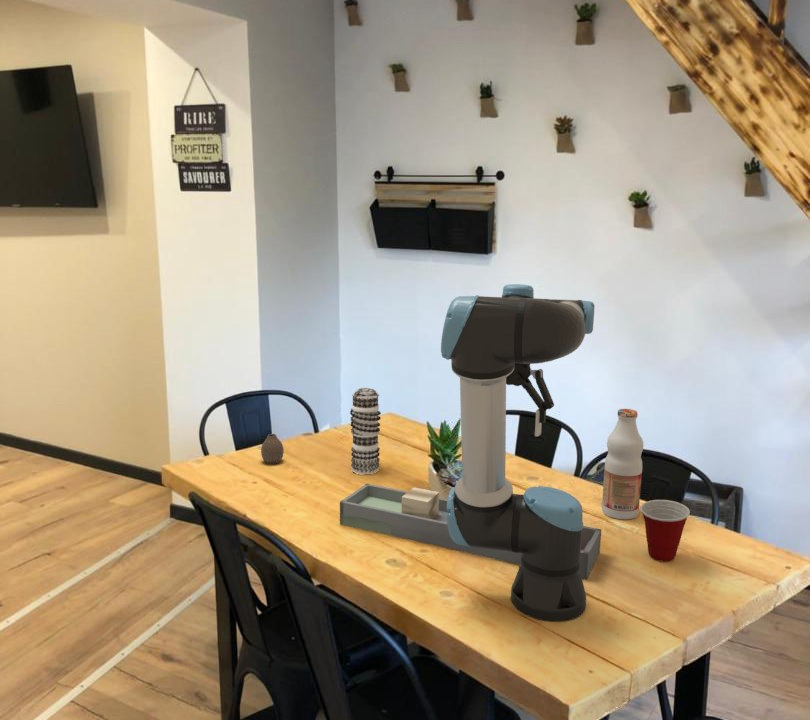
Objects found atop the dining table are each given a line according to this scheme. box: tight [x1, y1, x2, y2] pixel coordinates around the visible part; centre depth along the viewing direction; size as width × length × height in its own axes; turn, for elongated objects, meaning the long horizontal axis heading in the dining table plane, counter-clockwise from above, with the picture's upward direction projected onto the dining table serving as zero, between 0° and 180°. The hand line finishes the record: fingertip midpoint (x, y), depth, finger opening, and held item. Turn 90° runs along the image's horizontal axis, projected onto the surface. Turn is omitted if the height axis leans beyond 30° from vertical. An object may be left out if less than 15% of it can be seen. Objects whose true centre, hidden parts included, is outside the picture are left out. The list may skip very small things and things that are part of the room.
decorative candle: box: [349, 387, 382, 475], centre depth 225 cm, size 9×9×25 cm
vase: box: [260, 433, 285, 465], centre depth 232 cm, size 7×7×9 cm
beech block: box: [401, 487, 440, 520], centre depth 186 cm, size 7×7×6 cm
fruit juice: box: [601, 408, 644, 520], centre depth 195 cm, size 9×9×28 cm
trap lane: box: [339, 483, 602, 580], centre depth 182 cm, size 14×62×6 cm, turn 64°
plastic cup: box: [639, 499, 691, 562], centre depth 173 cm, size 11×11×12 cm
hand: (511, 431), depth 188 cm, fingers open, 13 cm apart
